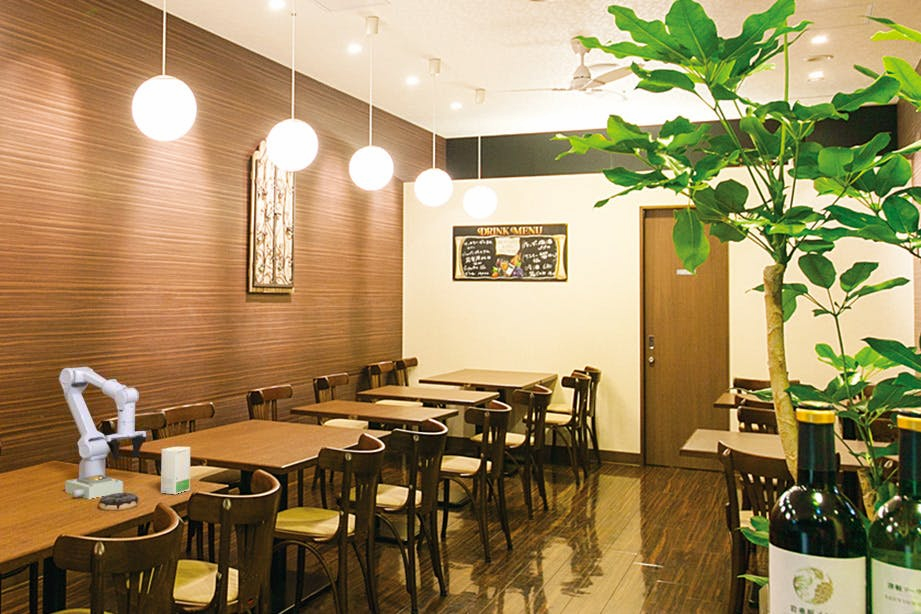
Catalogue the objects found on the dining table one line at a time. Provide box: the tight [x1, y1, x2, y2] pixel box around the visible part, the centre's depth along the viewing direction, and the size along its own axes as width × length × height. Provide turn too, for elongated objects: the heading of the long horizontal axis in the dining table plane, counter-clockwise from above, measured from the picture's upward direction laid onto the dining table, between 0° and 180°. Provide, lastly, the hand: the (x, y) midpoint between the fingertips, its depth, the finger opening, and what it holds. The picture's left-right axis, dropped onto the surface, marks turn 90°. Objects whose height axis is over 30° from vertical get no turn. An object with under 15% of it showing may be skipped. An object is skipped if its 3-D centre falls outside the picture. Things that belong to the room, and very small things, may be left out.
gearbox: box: [64, 475, 124, 500], centre depth 256 cm, size 16×15×5 cm
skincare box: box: [160, 446, 192, 496], centre depth 260 cm, size 8×7×16 cm
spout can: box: [88, 475, 103, 481], centre depth 256 cm, size 6×4×6 cm
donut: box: [97, 492, 139, 512], centre depth 239 cm, size 11×12×4 cm
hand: (125, 458), depth 268 cm, fingers open, 7 cm apart
